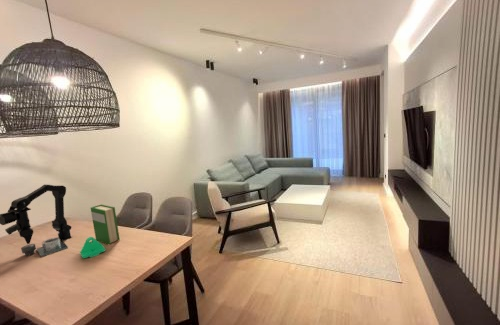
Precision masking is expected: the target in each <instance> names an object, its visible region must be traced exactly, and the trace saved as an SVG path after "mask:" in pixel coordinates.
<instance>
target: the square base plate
mask: <svg viewBox="0 0 500 325" xmlns="http://www.w3.org/2000/svg"><path fill="white" fill-rule="evenodd" d="M41 245H42V246H40V247H36V251H37V252H38V255H39V256H40V258H43V257H46V256H48V255H52V254H54V253H57V252H60V251H62V250H67V249H69V246H68V245H67V244H66V243H65V242H64V240H62V241H61V240H60V239H59V238H58V237H52V238H47V239H46V240H43V241H42V242H41Z"/></svg>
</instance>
